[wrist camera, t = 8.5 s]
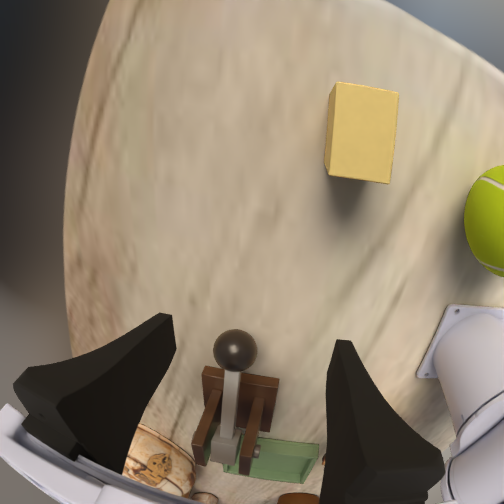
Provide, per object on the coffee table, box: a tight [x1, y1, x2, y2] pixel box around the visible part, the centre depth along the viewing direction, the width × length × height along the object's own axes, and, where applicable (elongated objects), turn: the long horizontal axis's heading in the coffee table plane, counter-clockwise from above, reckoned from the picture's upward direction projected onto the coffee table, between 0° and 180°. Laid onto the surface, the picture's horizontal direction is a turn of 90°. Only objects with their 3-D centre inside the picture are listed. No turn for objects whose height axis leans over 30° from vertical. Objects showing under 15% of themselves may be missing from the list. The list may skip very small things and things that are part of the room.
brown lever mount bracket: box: [191, 366, 279, 476], centre depth 24 cm, size 8×7×8 cm
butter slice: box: [324, 82, 399, 184], centre depth 14 cm, size 3×4×5 cm, turn 177°
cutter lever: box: [210, 329, 257, 466], centre depth 22 cm, size 13×3×3 cm, turn 177°
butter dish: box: [223, 434, 319, 484], centre depth 31 cm, size 11×9×2 cm
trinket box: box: [122, 424, 196, 496], centre depth 34 cm, size 13×15×8 cm
